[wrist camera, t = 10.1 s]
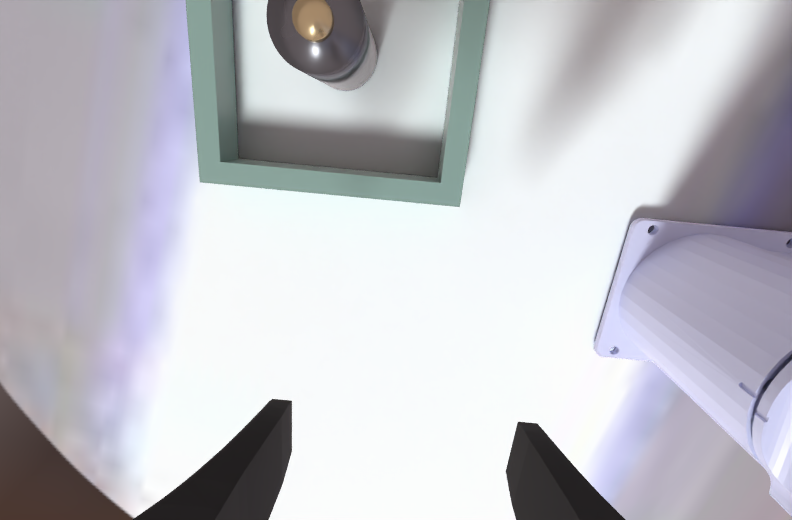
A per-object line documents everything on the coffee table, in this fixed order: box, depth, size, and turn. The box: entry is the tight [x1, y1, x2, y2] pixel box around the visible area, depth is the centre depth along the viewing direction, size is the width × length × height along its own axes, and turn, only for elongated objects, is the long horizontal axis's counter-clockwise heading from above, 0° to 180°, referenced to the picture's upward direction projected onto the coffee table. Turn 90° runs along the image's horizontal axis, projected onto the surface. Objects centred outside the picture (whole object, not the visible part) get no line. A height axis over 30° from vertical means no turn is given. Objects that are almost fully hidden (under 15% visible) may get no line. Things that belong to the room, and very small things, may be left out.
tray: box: [186, 0, 490, 207], centre depth 17 cm, size 12×12×2 cm
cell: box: [267, 0, 377, 91], centre depth 14 cm, size 3×3×6 cm
